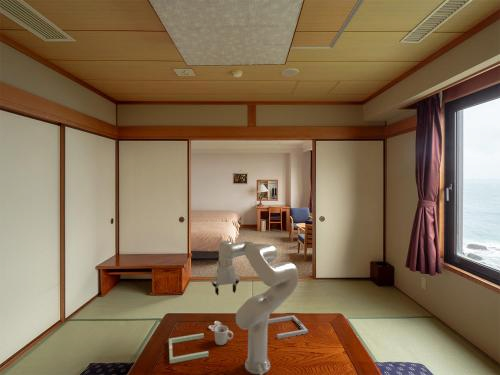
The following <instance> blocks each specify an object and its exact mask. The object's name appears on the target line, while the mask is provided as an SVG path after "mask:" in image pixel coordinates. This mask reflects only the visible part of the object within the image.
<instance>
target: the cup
mask: <svg viewBox="0 0 500 375" xmlns="http://www.w3.org/2000/svg"><path fill="white" fill-rule="evenodd" d="M213 330H214V331H213V332H214V341H215V344H216V345H218V346H223V345H225V344H227V342H228V341H229V340H230V341H231V340H232V339H233V337H234V333H233V331H232V330H229V328H228V326H227V325H223V324H219V326H217V327H215V326H214V329H213ZM229 334H230V335H231V337H229Z"/></svg>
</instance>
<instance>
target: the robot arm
mask: <svg viewBox="0 0 500 375" xmlns="http://www.w3.org/2000/svg"><path fill="white" fill-rule="evenodd" d="M241 256H244V257H245V258H246V259H247V260H248V262H249V265H250V267H251V268H252V269H253V270H254V272H255V273H256V275H257V276H258V277H259V279H260V280H261V282H262V283H263V284H264V285H265V286H267V287H269V288H268V289H267V290H266V291H264V292H261V293H259V294H256V295H253V296H252V297H250V298H248V299H247V300H246V301H245V302H244V303H243V304H242V305H241V306H240V307H239V308H238V310H237V311H236V314H235V322H236V325H237V327H238V328H240V329H241V330H246V331H248V332H247V334H248V335H247V358H246V360H245V362H244V368H245V370H246V371H247V372H249V373H250V374H253V375H264V374H265V373H268V372H269V371H270V369H271V362H270V360H269V359H268V327H269V324H268V321H269V319H270V315H271V314H272V313H274V312H275V311H276V309H278V308H279V307H280V306H281V305H282V304H283V303H284V302H285V301H286V300H287V299H288V298H289V297H290V296H291V295H292V294H293V293H294V292H295V291H296V289H297V286H298V284H299V277H300V276H299V271H298V267H297V266H296V265H295V264H294V263H293V262H290V261H284V262H278V263H276V264H272V265H270V263H272V262H274V261H275V260H276V259H277V257H278V250H277V248H276V247H275V246H274V245H272V244H269V243H255V242H253V241H246V240H245V241H238V242H232V241H230V240H221V241H219V243H218V261H216V262H215V263H216V265H217V269H216V276H214V277H213V278H212V279H210V280H209V281H210V284H212V287H214V292H215V294H216V296H219V295H220V294H219V287H220V286H224V285H226V286H227V285H232V293H234V294H235V293H236V291H237V285H238V284H239V283H240V281H241V278H242V277H241V276H240V275H237V274H236V272H235V271H236V270H235V266H234V264H233V258H237V257H241ZM215 281H216V283H215Z"/></svg>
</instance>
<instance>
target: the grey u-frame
mask: <svg viewBox="0 0 500 375" xmlns="http://www.w3.org/2000/svg"><path fill="white" fill-rule="evenodd" d="M288 321H295V322H296V323H297V324H298V325H299V326H300V327H299V326H298V325H297V324H296V323H295V322H294V323H295V324H296V325H297V326H298V327H299V328H300V329H299V330H298V329H297V330H294V331H288V332H281V333H277V334H276V339H278V340H279V339H280V340H281V339H285V338H291V337H296V335H297V336H302V335H301V334H303V335H307V334H306V333H308V334H309V330H308V328H306V326H305V325H304V324H303V322H302V321H301V320H299V319H298V318H297V317H296V316H295V315H287V316H279V317H275V318H269V321H268V325H270V324H273V323H280V322H288Z"/></svg>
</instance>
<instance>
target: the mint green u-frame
mask: <svg viewBox="0 0 500 375" xmlns="http://www.w3.org/2000/svg"><path fill="white" fill-rule="evenodd" d="M204 338H205V336H204V333H202V332H201V333H196V334H189V335H184V336H177V337H172V338H170V337H169V338H168V352H169V356H168V357H169V364H174V363H175V364H176V363H180V362H186V361H191V360H197V359H201V358H206V357H209V350H207V351H201V352H194V353H188V354H184V355H178V356H173V354H174V353H173V344H175V343H176V344H177V343H180V342H181V343H182V342H188V341H192V340H193V341H194V340H200V339H204Z"/></svg>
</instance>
